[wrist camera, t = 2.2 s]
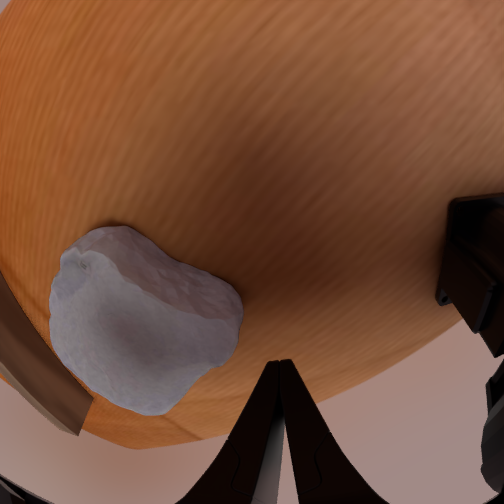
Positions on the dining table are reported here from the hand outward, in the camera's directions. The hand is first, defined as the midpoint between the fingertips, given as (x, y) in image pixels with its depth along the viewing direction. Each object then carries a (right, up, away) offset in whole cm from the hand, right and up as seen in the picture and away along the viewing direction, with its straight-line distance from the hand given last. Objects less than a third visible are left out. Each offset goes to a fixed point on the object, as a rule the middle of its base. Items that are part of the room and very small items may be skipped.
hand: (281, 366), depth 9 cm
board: (-21, -1, +7) cm, 23 cm away
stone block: (-8, +1, +6) cm, 11 cm away
